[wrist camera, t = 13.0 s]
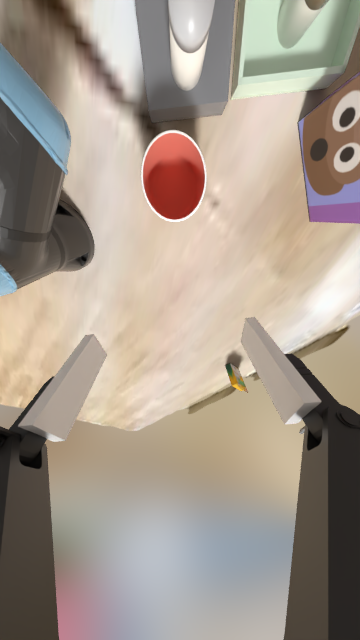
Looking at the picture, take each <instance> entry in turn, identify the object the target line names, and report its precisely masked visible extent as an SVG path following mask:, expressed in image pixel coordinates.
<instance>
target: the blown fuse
mask: <svg viewBox="0 0 360 640" xmlns="http://www.w3.org/2000/svg"><path fill="white" fill-rule="evenodd" d="M328 1H329V0H283V2H282V5H281V8H280V11H279V16H278V23H277V34H278V40H279V42H280V44H281V46H282V47H283V48H286V49H289V48H292V47H293V46H295V45H296V44H297V43H298V42H299V40H300V39H301V38H302V36H303V35H304V34H305V32H306V31H307V30H308V28H309V27H310V25H311V24H312V23H313V21H314V20H315V19H316V17H317V16H318V15H319V13H320V12H321V11H322V9H323V8H324V7H325V5H326V4H327V3H328Z"/></svg>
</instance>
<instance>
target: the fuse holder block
mask: <svg viewBox="0 0 360 640" xmlns="http://www.w3.org/2000/svg"><path fill="white" fill-rule="evenodd" d="M135 6H136V14H137V22H138V30H139V38H140V46H141V54H142V62H143V70H144V78H145V86H146V94H147V102H148V110H149V114H150V118H151V122H152V123H155V122H164V121H173V120H181V119H190V118H199V117H207V116H216V115H222V113H223V111H224V109H225V106H226V104H227V102H228V92H229V78H230V64H231V50H232V36H233V22H234V8H235V0H135Z"/></svg>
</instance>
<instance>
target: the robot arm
mask: <svg viewBox="0 0 360 640" xmlns="http://www.w3.org/2000/svg"><path fill="white" fill-rule="evenodd" d="M70 146H71V135H70V131H69V128H68V125H67V123H66V121H65V119H64V117H63V116H62V114H61V113H60V111H59V110H58V109H57V107H56V106H55V105H54V104H53V102H52V101H51V100H50V99H49V98H48V97H47V95H46V94H45V93H44V92H43V91H42V89H41V88H40V87H39V86H38V85H37V84H36V83H35V81H34V80H33V79H32V78H31V77H30V76H29V74H28V73H27V72H26V71H25V70H24V69H23V68H22V66H21V65H20V64H19V63H18V62H17V61H16V60H15V59H14V57H13V56H12V55H11V54H10V53H9V52H8V51H7V49H6V48H5V47H4V46H3V45H2V44H1V43H0V296H3V295H6V294H9V293H13V292H15V291H16V290H17V289H19V288H21V287H23V286H25V285H27V284H30V283H32V282H34V281H36V280H38V279H40V278H42V277H45V276H47V275H49V274H51V273H53V272H55V271H76V270H79V269H81V268H83V267H85V266H87V265H88V264H89V263H90V262H91V260H92V258H93V255H94V241H93V237H92V234H91V232H90V230H89V228H88V226H87V224H86V223H85V221H84V220H83V219H82V217H81V216H80V215H79V214H78V213H77V212H76V211H75V210H74V209H73V208H72V207H71V206H69V205H68V204H66V203H65V202H63V201H62V200H60V199H59V198H60V194H61V190H62V186H63V182H64V178H65V174H66V175H67V174H68V170H67V162H68V157H69V151H70ZM241 343H242V345H243V347H244V349H245V351H246V352H247V354H248V356H249V358H250V360H251V362H252V364H253V366H254V368H255V370H256V371H257V373H258V375H259V377H260V379H261V381H262V383H263V385H264V386H265V388H266V390H267V392H268V394H269V396H270V398H271V400H272V402H273V404H274V405H275V407H276V409H277V411H278V413H279V415H280V417H281V419H282V421H283V422H284V424H293V423H299V422H300V421H301V420H302V419H303V421H304V422H305V424H306V425H305V426H304V427H303V428H302V429H301V430H300V432H299V433H301V434H302V433H304V441H303V452H302V462H301V473H300V483H299V493H298V503H297V513H296V525H295V534H294V544H293V554H292V565H291V576H290V586H289V595H288V606H287V616H286V627H285V635H284V640H360V415H359V414H357V413H356V412H355V411H353V410H352V409H350V408H348V407H346V406H343V405H341V404H339V403H338V402H337V401H336V400H335V399H334V398H333V396H332V395H331V394H330V393H329V392H328V391H327V390H326V388H325V387H324V386H323V385H322V384H321V383H320V382H319V381H318V379H317V378H316V377H315V376H314V375H312V372H311V371H310V370H309V369H307V367H306V366H305V364H304V363H303V362H302V361H301V360H300V359H299V358H297V357H296V356H294V355H293V354H284V353H283V352H282V351H281V350H280V348H279V347H278V346H277V345H276V343H275V342H274V341H273V340H272V338H271V337H270V336H269V335H268V333H267V332H266V331H265V330H264V328H263V327H262V326H261V324H260V323H259V322H258V321H257V319H256V318H255V317H253V318H245V323H244V328H243V333H242V337H241ZM106 356H107V354H106V352H105V351H104V349H103V348H102V346H101V344H100V343H99V341H98V340H97V338H96V337H95V335H94V334H92V335H85V337H84V338H83V339H82V341H81V342H80V343H79V345H78V346H77V347H76V349H75V350H74V351H73V353H72V354H71V355H70V357H69V358H68V359H67V361H66V362H65V363H64V365H63V366H62V367H61V369H60V370H59V371H58V373H57V374H56V375H55V376H54V377H52V378H50V379H49V380H48V381H47V382H46V383H45V384H44V385H43V386H42V388H41V389H40V390H39V392H38V393H37V394H36V395H35V397H34V398H33V400H32V401H31V402H30V403H29V404H28V406H27V407H26V408H25V410H24V411H23V412H22V413H21V415H20V416H19V417H18V419H17V420H16V421H15V423H14V424H13V425H12V426H11V427H10V429H9V430H8V429H5V428H3V427H0V640H59V636H58V620H57V604H56V587H55V571H54V555H53V539H52V523H51V507H50V492H49V474H48V458H47V447H46V444H44V443H45V441H46V440H47V439H49V440H51V441H54V442H55V441H65V440H66V438H67V436H68V434H69V432H70V430H71V428H72V426H73V424H74V422H75V420H76V418H77V416H78V414H79V412H80V410H81V408H82V406H83V403H84V401H85V399H86V397H87V395H88V393H89V391H90V389H91V387H92V385H93V383H94V381H95V379H96V377H97V375H98V373H99V370H100V368H101V366H102V364H103V362H104V360H105V358H106Z"/></svg>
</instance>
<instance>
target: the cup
mask: <svg viewBox="0 0 360 640" xmlns="http://www.w3.org/2000/svg"><path fill="white" fill-rule="evenodd" d="M206 181H207V174H206V165H205V161H204V158H203V155H202V152H201V150H200V148H199V147H198V145H197V144H196V142H195V141H194V140H193V139H192V138H191V137H190V136H189V135H187V134H186V133H184V132H182V131H178V130H167V131H164V132H162V133H160V134H158V135H157V136H156V137H155V138H154V139H153V140H152V141H151V142H150V144H149V145H148V147H147V149H146V151H145V154H144V157H143V161H142V167H141V182H142V188H143V192H144V195H145V198H146V200H147V202H148V204H149V206H150V207H151V209H152V210H153V211H154V212H155V213H156V214H157V215H158V216H159V217H161V218H163V219H165V220H167V221H171V222H178V221H183V220H185V219H187V218H189V217H190V216H191V215H192V214H193V213H194V212H195V211H196V210H197V209H198V207H199V205H200V204H201V202H202V199H203V197H204V193H205V189H206Z"/></svg>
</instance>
